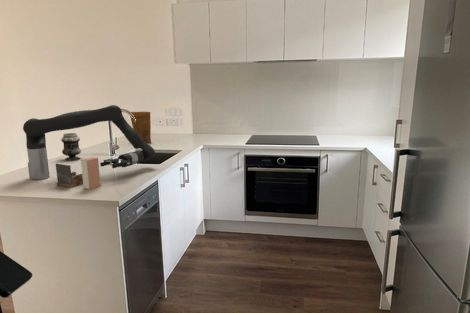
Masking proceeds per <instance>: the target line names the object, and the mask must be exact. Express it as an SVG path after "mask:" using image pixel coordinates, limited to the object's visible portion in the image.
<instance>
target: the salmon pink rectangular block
mask: <svg viewBox="0 0 470 313" xmlns="http://www.w3.org/2000/svg"><path fill="white" fill-rule="evenodd" d="M80 166H81V174H82V177H83V184H82V185H83V186H82V187H83V189H84V190H85V189H86V190H92V189H96V188H99V187H100V186H101V177H100V163H99V158H98V157H95V156H92V157H87V158H83V159H81V160H80Z"/></svg>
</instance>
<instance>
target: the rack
mask: <svg viewBox="0 0 470 313" xmlns="http://www.w3.org/2000/svg"><path fill="white" fill-rule="evenodd" d="M71 169H72V168H71V165H70V164H64V163H63V164H62V163H55V171H56V180H57V182H56V186H57V187H63V188H68V189H71V188H75V187H78V186H80V185H83V177H82V173H79V174H77V172H76V171H72V170H71Z"/></svg>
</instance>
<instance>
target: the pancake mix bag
mask: <svg viewBox="0 0 470 313" xmlns="http://www.w3.org/2000/svg"><path fill="white" fill-rule="evenodd" d="M130 113H132V114H133V115H134V117H135V119H136V124H135V122H134V119H133V118H132V117H131V116H130V115H129V117H130V122H131V125H132V126H131V127H132V128H133V129H134V130H135V131H136V132H137V133H138V135H139V136H140V137H141V138H142V140H143V141H144V142H146V143H147V144H148V145H150V144H152V139H151V134H152V133H151V129H152V128H151V127H152V126H151V124H152V123H151V122H152V121H151V112H150V111H130Z"/></svg>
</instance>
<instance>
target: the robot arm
mask: <svg viewBox="0 0 470 313" xmlns="http://www.w3.org/2000/svg"><path fill="white" fill-rule="evenodd" d="M101 122H111V123H113V125H115V126H116V127H117V128H118V129H119V130H120V132H121V133H122V134H123V135H124V137H125V138H126V139H127V141H128V142H129V144H130V145H131V146H132V147H133V148H134V149H136V151H131V152H125V153H122V154H119V156H118V157H117V158H107V159H103V161H102V162H100V163H99V166H100V167H106V166H111V167H112V169H116V168H127V167H131V166H133V165H136V164H139V163H145V162H147V161H149V160H151V159H153V158H154V157H155V155H156V151H155V149H154V148H153V147H152V146H151V145H150V144H147V143H146V142H144V141H143V140H142V138H141V137H140V136H139V135H138V133H137V132H136V131H135V130H134V129H133V126H131V125H130V124H129V123H128V121H127V120H126V119H125V117H124V115H123V111H122V108H121V107H119V106H118V105H115V104H111V105H107V106H105V107H100V108H97V109H88V110H87V109H86V110H78V111H77V110H76V111H70V112H67V113H61V114H58V115H57V116H53V117H49V118H41V119H39V118H35V117H34V118H29V119H27V120H26V121H25V122H24V123H23V127H22V130H23V132H24V133H25V139H26V142H25V145H26V152H27V158H28V162H27V168H28V169H27V170H28V176H29V177H28V178H29V180H35V181H38V180H45V179H48V178H50V177H51V176H50V167H49V159H48V152H47V146H46V145H47V143H46V142H47V140H46V134H48V133H52V132H57V131H65V130H73V129H80V128H83V127H87V126H88V127H89V126H91V125H94V124H97V123H101ZM138 149H141V150H138Z"/></svg>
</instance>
